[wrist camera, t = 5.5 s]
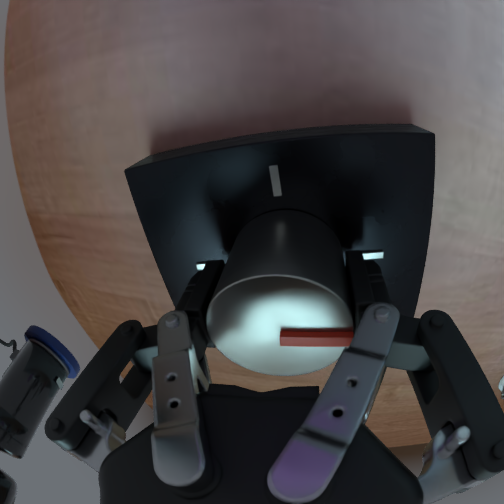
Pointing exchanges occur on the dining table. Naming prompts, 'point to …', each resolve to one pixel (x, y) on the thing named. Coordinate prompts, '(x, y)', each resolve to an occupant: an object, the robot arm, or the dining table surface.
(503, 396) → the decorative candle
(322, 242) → the hob knob
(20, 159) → the dining table surface
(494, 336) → the dining table surface
